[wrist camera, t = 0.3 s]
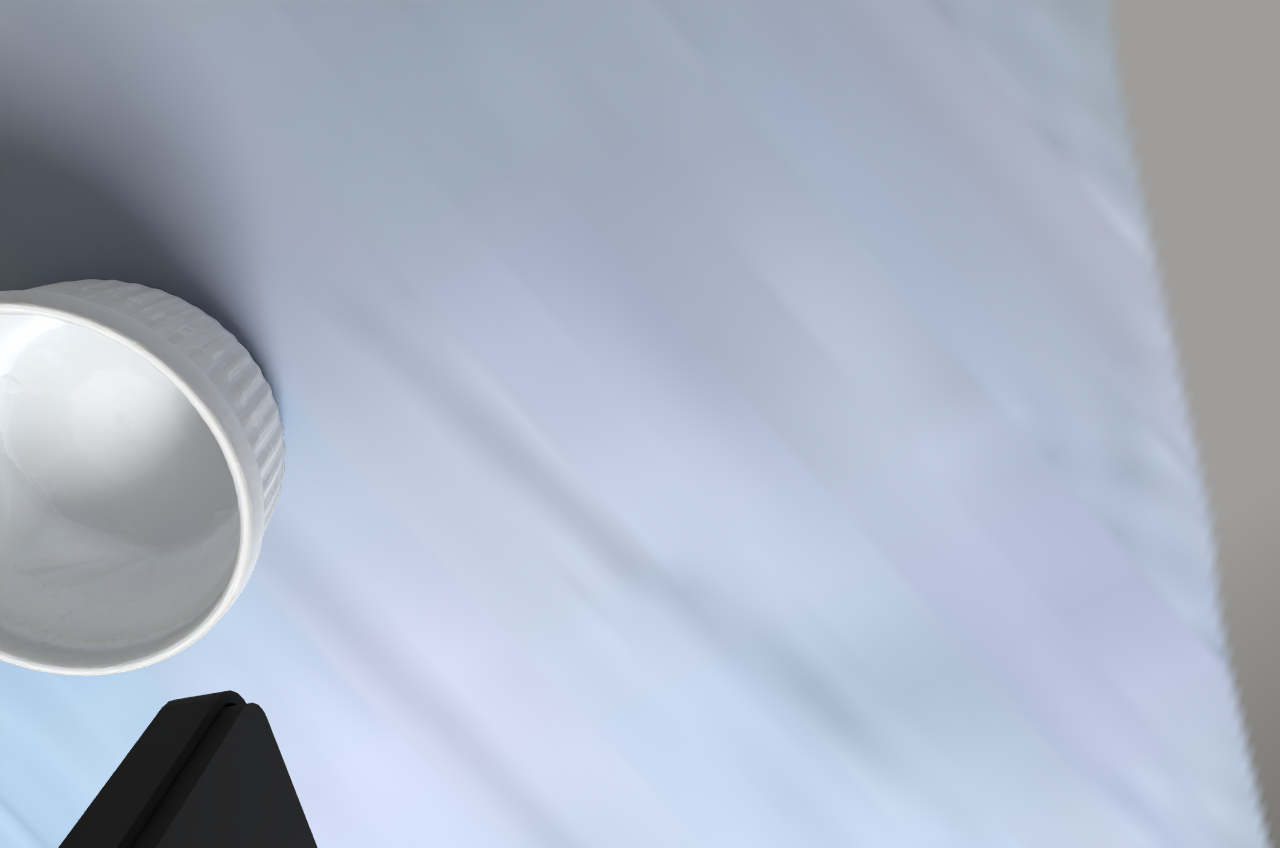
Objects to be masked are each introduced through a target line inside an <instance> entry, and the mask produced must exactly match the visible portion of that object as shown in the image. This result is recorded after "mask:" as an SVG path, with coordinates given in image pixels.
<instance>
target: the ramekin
mask: <svg viewBox="0 0 1280 848" xmlns="http://www.w3.org/2000/svg"><path fill="white" fill-rule="evenodd" d="M283 434H284V427H283V424H282V422H281V420H280V417H279V408H278V405H277V403H276V401H275V400H274V398H273V395H272V390H271V387H270V386H269V384H268V383H267V382H266V380H265V379H264V377H263V375H262V372H261V369H260V368H259V366H258V365H257V364H256V363H255V362H254V361H253V359H252V358H251V356H250V354H249V352H248V351H247V350H246V349H245V348H244V347H243V346H242V345H241V344H240V343H239V342H238V341H237V339H236V338H235V336H234V335H233V334H231V333H230V332H228V331H227V330H226V329H224V328H223V327H222V326H221V324H220V323H219V322H218V321H216V320H215V319H214V318H212V317H210V316H208V315H207V314H206V313H204V312H203V311H202V310H200V309H199V308H198V307H195V306H193V305H191V304H189V303H187V302H186V301H184V300H183V299H181V298H179V297H176V296H173V295H170V294H168V293H166V292H164V291H162V290H160V289H155V288H149V287H147V286H144V285H141V284H137V283H125V282H122V281H118V280H105V281H103V280H96V279H85V280H79V281H67V282H60V283H55V284H49V285H44V286H39V287H35V288H31V289H27V290H11V291H0V660H3V661H5V662H8V663H11V664H14V665H18V666H22V667H25V668H29V669H33V670H37V671H43V672H49V673H56V674H66V675H103V674H114V673H122V672H127V671H131V670H135V669H138V668H143V667H146V666H149V665H152V664H154V663H157V662H159V661H162V660H164V659H167V658H169V657H171V656H173V655H175V654H177V653H178V652H180V651H182V650H184V649H185V648H187V647H188V646H190V645H192V644H193V643H194V642H196V641H197V640H198V639H200V638H201V637H202V636H203V635H204V634H206V633H207V632H208V631H209V630H210V629H211V628H212V627H213V626H214V625H215V624H216V623H217V622H218V621H219V620H220V619H221V617H222V616H223V615H224V614H225V613H226V612H227V611H228V609H229V608H230V607H231V606H232V604H233V603H234V602H235V601H236V599H237V598H238V597H239V595H240V594H241V592H242V591H243V589H244V587H245V586H246V584H247V583H248V580H249V578H250V576H251V574H252V572H253V569H254V567H255V564H256V562H257V559H258V556H259V552H260V549H261V544H262V539H263V534H264V532H265V530H266V528H267V526H268V524H269V522H270V519H271V517H272V514H273V511H274V508H275V506H276V504H277V501H278V499H279V496H280V493H281V488H282V486H281V481H282V478H283V475H284V472H285V463H284V459H283V458H284V455H285V451H286V446H285V443H284V439H283Z"/></svg>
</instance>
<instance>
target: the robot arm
mask: <svg viewBox="0 0 1280 848" xmlns="http://www.w3.org/2000/svg"><path fill="white" fill-rule="evenodd" d="M59 848H317V845H316V843H315V840H314V838H313V835H312V832H311V830H310V827H309V825H308V822H307V820H306V817H305V814H304V812H303V809H302V807H301V804H300V802H299V799H298V796H297V794H296V791H295V789H294V786H293V784H292V781H291V778H290V776H289V773H288V771H287V768H286V766H285V763H284V760H283V758H282V755H281V753H280V750H279V748H278V745H277V742H276V740H275V737H274V735H273V732H272V730H271V727H270V724H269V722H268V719H267V717H266V715H265V713H264V711H263V709H262V708H261V707H260V706H259V705H257V704H255V703H248V704H246V702H245V700H244V699H243V698H242V697H241V696H240V695H239V694H238V693H236V692H233V691H231V690H230V691H224V692H218V693H212V694H206V695H200V696H194V697H188V698H182V699H176V700H172V701H169V702H168V703H167V704H166V705H164V706H163V707H162V708H161V710H160V711H159V712H158V714H157V715H156V717H155V718H154V719H153V721H152V722H151V723H150V725H149V726H148V727H147V729H146V730H145V731H144V733H143V734H142V735H141V737H140V738H139V739H138V741H137V742H136V744H135V745H134V746H133V748H132V749H131V750H130V752H129V753H128V754H127V756H126V757H125V758H124V760H123V761H122V762H121V764H120V765H119V767H118V768H117V769H116V771H115V772H114V773H113V775H112V776H111V777H110V779H109V780H108V781H107V783H106V784H105V785H104V787H103V788H102V789H101V791H100V792H99V794H98V795H97V796H96V798H95V799H94V800H93V802H92V803H91V804H90V806H89V807H88V808H87V810H86V811H85V812H84V814H83V815H82V816H81V818H80V819H79V821H78V822H77V823H76V825H75V826H74V827H73V829H72V830H71V831H70V833H69V834H68V835H67V837H66V838H65V839H64V841H63V842H62V843H61V845H60V846H59Z"/></svg>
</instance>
